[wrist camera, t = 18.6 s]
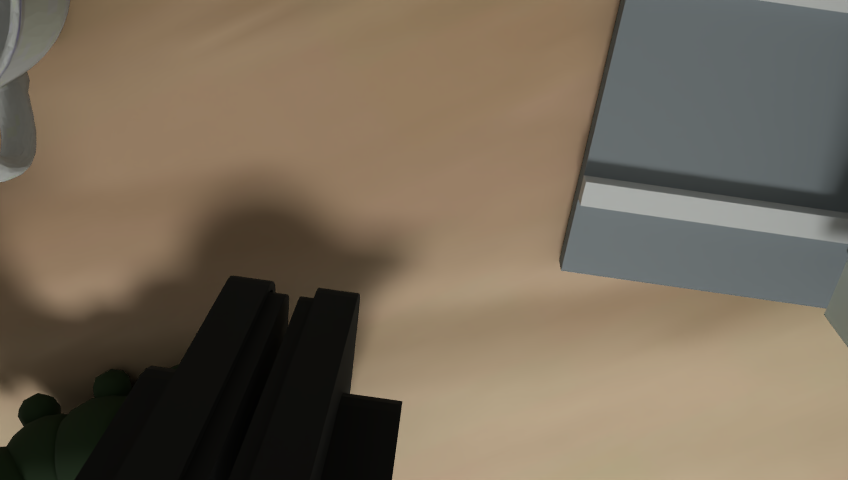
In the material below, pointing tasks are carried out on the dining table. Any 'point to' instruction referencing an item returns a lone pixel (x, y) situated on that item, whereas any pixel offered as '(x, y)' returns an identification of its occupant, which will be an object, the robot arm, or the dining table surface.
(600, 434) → the dining table surface
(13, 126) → the teacup
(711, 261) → the track
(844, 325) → the shallow sage tray
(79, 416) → the toy figurine
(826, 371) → the dining table surface
